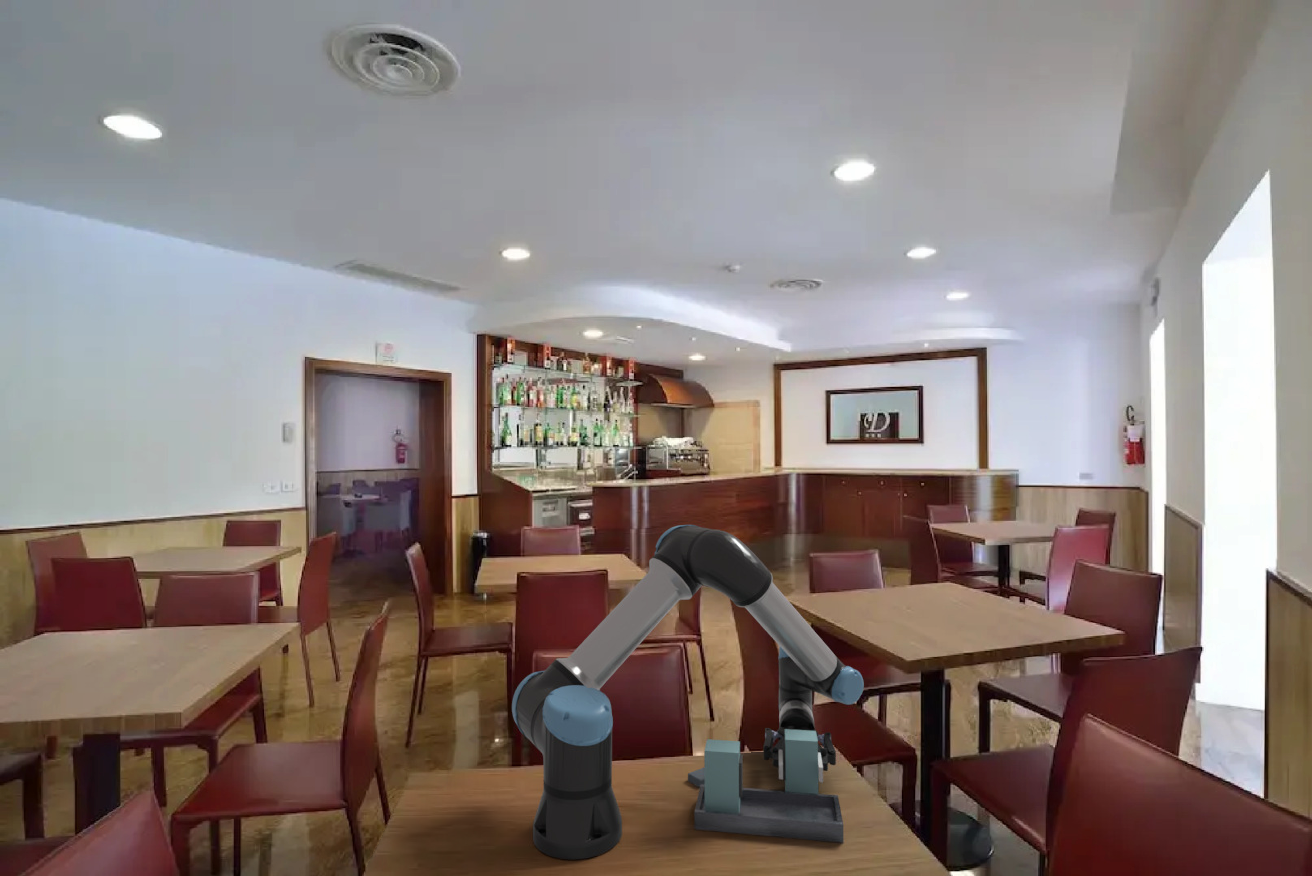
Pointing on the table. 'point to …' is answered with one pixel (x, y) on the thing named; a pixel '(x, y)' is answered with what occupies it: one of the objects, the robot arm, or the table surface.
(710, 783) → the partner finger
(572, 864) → the table surface
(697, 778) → the bracket
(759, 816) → the dark gray tray
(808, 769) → the finger
